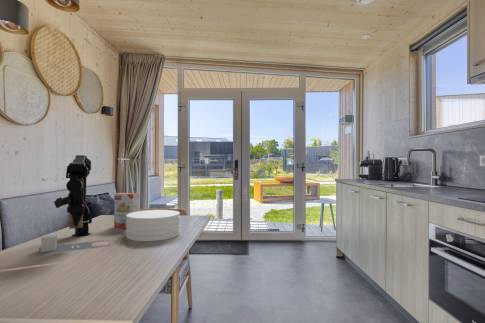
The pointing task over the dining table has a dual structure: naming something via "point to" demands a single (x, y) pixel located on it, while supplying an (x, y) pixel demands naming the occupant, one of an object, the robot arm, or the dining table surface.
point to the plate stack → (152, 225)
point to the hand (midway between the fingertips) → (76, 224)
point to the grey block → (49, 243)
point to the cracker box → (124, 207)
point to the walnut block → (71, 223)
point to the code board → (77, 246)
